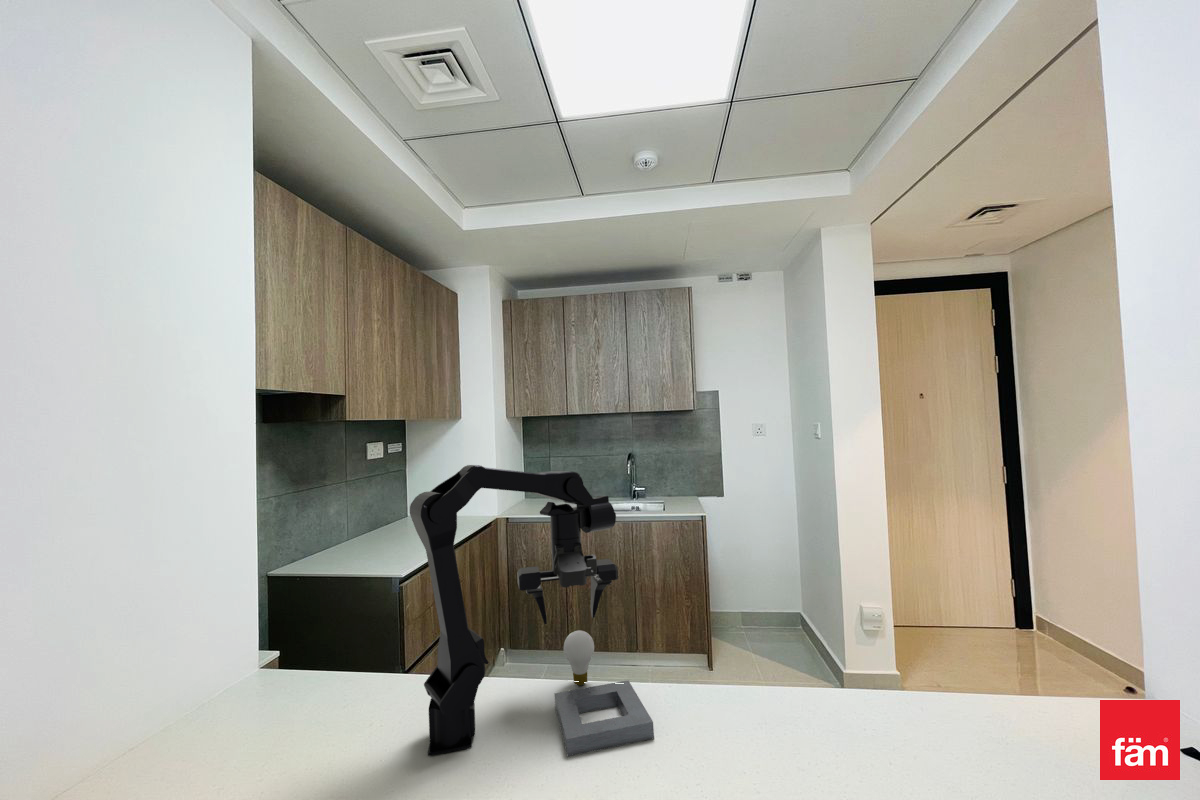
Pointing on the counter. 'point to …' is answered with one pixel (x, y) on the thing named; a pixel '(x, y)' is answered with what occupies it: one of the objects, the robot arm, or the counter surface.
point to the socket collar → (603, 732)
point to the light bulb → (579, 654)
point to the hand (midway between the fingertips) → (569, 620)
